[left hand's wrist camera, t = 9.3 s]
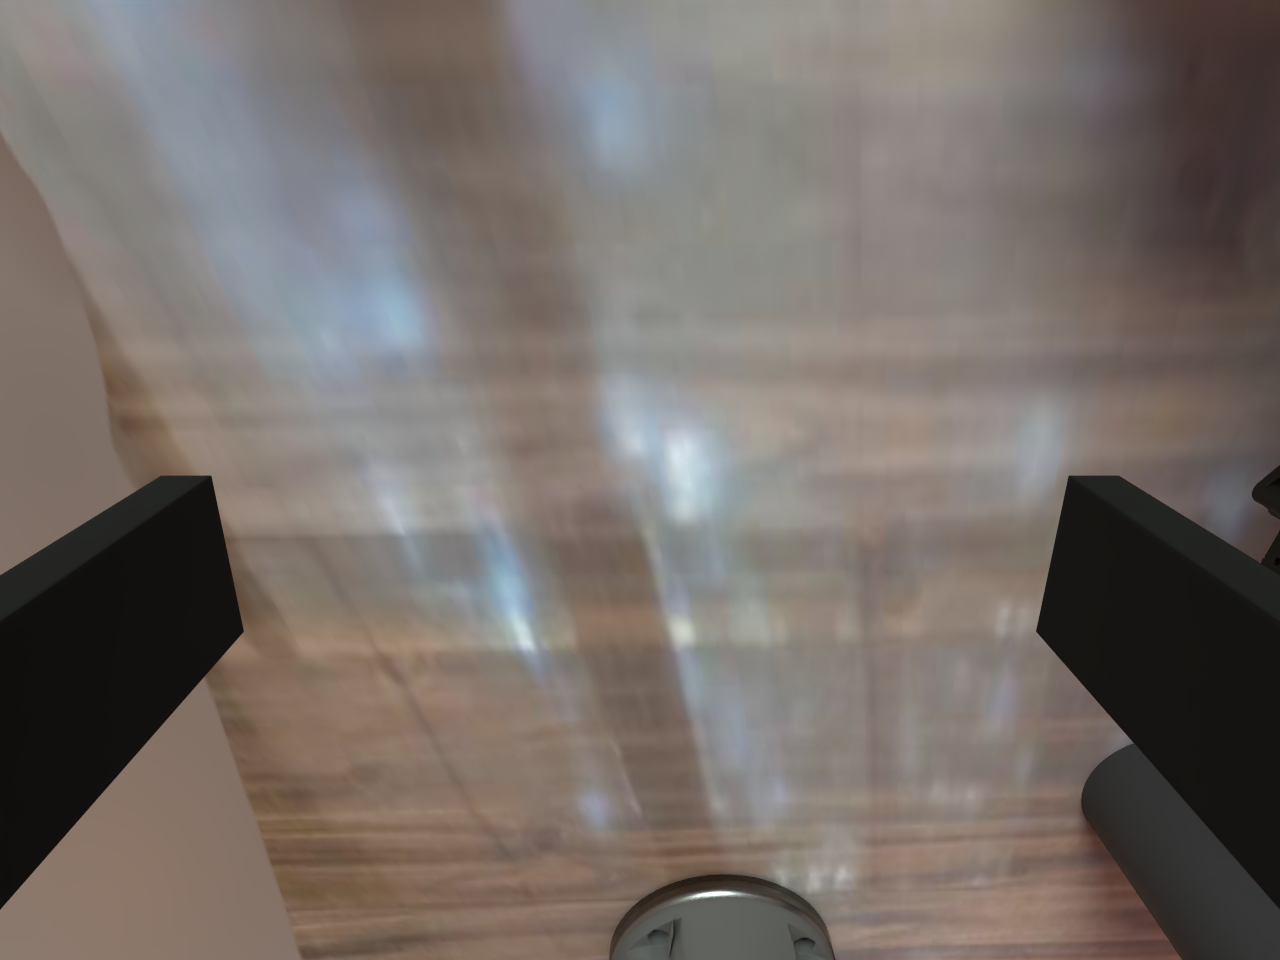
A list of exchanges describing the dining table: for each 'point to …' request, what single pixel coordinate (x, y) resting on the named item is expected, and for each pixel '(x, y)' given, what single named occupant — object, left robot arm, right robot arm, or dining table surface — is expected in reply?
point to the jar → (1178, 864)
